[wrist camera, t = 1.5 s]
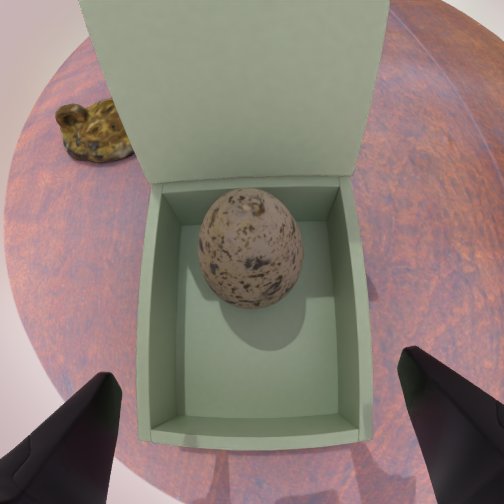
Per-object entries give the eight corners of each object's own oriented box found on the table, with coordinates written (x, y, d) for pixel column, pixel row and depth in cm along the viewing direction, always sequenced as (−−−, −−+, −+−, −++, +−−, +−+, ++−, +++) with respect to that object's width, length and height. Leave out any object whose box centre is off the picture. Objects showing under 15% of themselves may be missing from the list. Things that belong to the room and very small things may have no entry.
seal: (188, 104, 30) (83, 112, 31) (180, 70, 26) (70, 85, 27) (160, 164, 26) (47, 166, 27) (146, 127, 22) (28, 138, 23)
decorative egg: (238, 222, 23) (219, 131, 13) (311, 257, 21) (341, 181, 12) (196, 290, 21) (142, 236, 12) (271, 332, 20) (274, 309, 10)
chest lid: (397, -101, 3) (361, -95, 5) (59, -70, 3) (103, -74, 6) (353, 176, 17) (338, 132, 19) (148, 184, 18) (161, 140, 20)
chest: (346, 420, 18) (372, 439, 12) (169, 421, 18) (137, 440, 13) (333, 216, 23) (349, 175, 18) (175, 221, 24) (151, 183, 18)
